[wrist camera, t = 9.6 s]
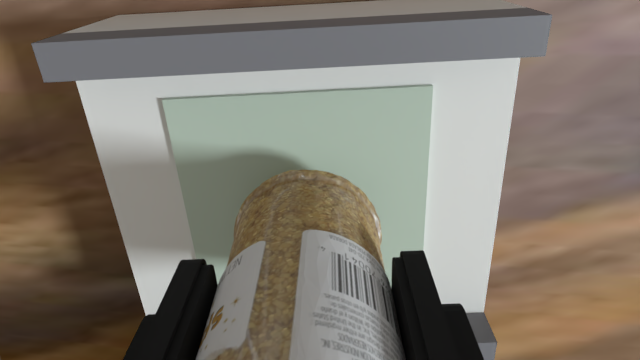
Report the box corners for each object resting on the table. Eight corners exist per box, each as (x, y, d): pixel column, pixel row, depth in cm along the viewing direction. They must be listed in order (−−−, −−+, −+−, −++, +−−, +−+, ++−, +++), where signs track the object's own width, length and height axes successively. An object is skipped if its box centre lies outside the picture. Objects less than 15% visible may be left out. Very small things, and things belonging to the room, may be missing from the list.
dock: (454, 268, 21) (493, 362, 17) (181, 278, 22) (140, 374, 17) (481, -6, 16) (551, 14, 11) (117, 15, 16) (30, 43, 12)
